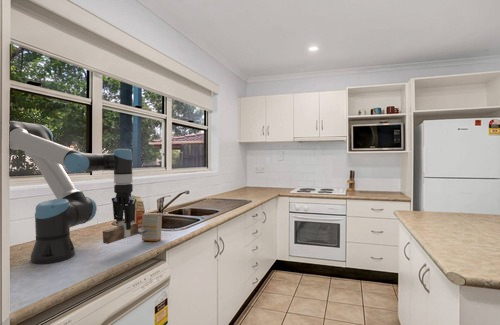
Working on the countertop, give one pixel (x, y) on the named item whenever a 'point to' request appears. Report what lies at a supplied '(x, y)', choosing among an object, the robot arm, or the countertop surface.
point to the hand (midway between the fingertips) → (124, 236)
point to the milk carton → (138, 211)
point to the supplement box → (152, 226)
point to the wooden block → (122, 233)
